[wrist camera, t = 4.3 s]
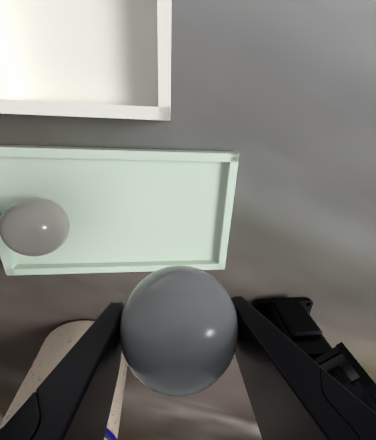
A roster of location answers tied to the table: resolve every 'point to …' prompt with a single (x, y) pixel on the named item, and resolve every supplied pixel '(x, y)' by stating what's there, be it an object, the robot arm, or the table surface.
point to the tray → (124, 206)
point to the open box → (86, 58)
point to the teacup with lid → (50, 357)
